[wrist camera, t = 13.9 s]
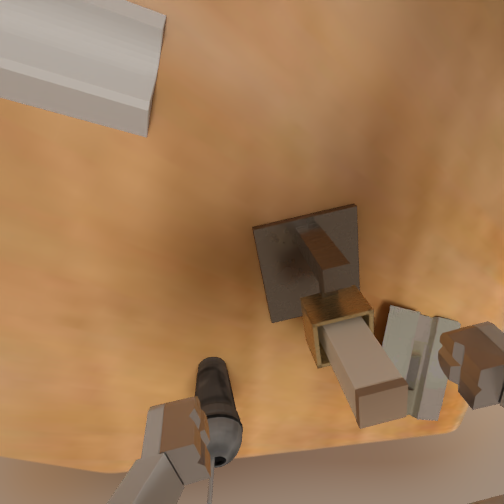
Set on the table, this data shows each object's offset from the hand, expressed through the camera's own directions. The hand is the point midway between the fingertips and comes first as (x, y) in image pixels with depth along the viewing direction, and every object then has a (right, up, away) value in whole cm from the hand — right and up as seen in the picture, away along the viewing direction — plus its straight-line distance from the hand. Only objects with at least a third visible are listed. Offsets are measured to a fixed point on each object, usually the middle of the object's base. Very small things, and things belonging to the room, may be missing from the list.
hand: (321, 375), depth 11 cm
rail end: (+8, -4, +31) cm, 33 cm away
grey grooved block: (+24, -12, +49) cm, 55 cm away
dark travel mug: (-9, -15, +45) cm, 48 cm away
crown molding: (-27, +25, +21) cm, 43 cm away
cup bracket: (+6, +2, +38) cm, 39 cm away
